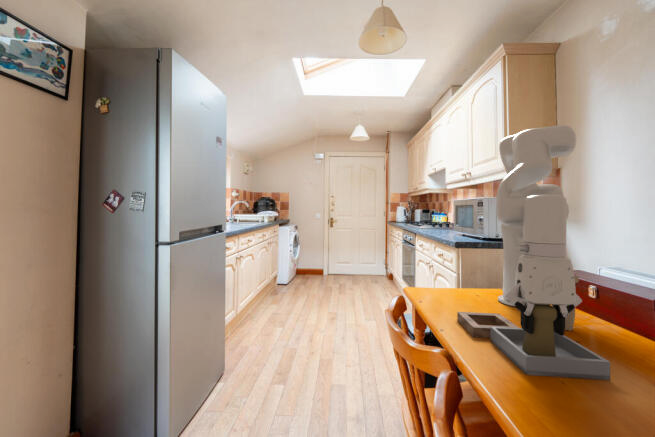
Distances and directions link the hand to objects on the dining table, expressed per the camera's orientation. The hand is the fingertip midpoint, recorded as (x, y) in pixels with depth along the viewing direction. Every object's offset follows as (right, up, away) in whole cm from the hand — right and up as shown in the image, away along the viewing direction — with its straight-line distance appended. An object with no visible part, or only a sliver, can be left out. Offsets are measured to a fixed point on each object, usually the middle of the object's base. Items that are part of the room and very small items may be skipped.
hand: (542, 331), depth 62 cm
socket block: (-3, -6, +15) cm, 17 cm away
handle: (+19, -6, +16) cm, 25 cm away
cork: (-1, -5, 0) cm, 5 cm away
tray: (0, -6, 0) cm, 6 cm away
